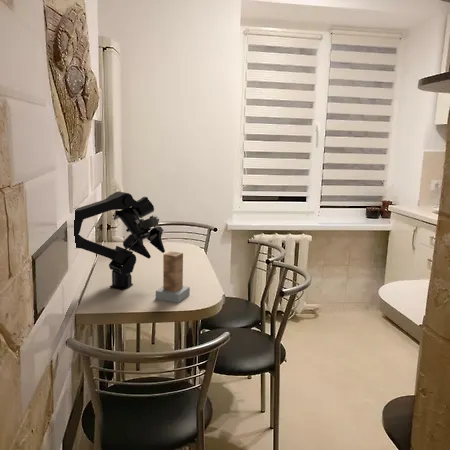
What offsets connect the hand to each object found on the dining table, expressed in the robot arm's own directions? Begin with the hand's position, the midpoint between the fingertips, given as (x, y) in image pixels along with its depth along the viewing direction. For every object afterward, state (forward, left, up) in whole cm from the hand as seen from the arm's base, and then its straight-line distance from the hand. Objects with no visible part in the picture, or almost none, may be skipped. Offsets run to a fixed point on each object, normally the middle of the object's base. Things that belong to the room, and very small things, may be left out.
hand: (157, 255), depth 165 cm
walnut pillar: (+9, -4, -11) cm, 14 cm away
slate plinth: (+9, -4, -14) cm, 17 cm away
